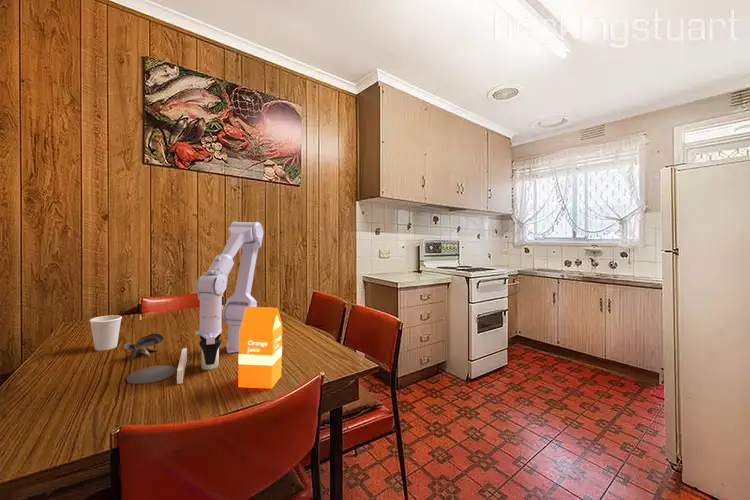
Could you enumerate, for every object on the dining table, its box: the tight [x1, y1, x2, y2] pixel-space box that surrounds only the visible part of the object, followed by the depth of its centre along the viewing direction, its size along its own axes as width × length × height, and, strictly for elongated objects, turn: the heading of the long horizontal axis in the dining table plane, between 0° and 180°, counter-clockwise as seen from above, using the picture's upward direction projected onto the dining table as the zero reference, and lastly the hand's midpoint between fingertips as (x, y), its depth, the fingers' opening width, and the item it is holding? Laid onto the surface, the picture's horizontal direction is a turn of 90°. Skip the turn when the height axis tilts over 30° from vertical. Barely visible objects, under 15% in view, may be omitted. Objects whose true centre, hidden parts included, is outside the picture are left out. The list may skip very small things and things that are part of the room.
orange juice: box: [237, 306, 283, 389], centre depth 83 cm, size 8×9×20 cm
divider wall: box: [176, 347, 188, 385], centre depth 89 cm, size 1×18×4 cm, turn 28°
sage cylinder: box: [201, 347, 220, 371], centre depth 92 cm, size 4×4×6 cm
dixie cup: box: [89, 314, 123, 352], centre depth 105 cm, size 8×8×10 cm
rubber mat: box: [126, 364, 177, 385], centre depth 85 cm, size 11×11×1 cm
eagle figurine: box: [123, 333, 165, 360], centre depth 99 cm, size 8×7×9 cm
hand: (210, 361), depth 92 cm, fingers closed on sage cylinder, 4 cm apart
